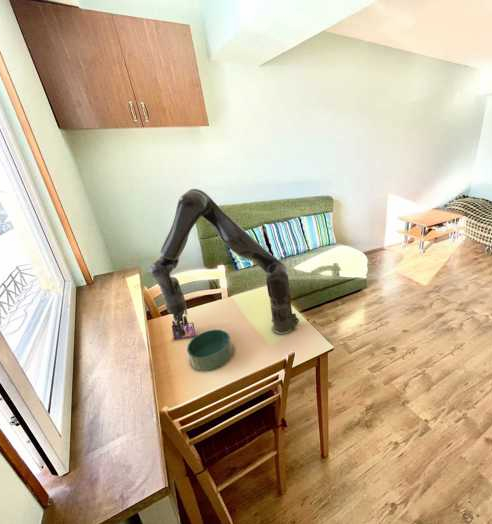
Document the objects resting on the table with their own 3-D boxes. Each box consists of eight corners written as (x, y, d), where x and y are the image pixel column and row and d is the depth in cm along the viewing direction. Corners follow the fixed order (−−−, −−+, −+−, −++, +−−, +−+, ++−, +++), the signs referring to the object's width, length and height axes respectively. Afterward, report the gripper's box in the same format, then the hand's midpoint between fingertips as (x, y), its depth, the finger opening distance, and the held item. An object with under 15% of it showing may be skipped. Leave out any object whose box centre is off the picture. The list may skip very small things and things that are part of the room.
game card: (171, 326, 124) (192, 323, 125) (175, 322, 129) (195, 319, 131) (173, 340, 125) (194, 337, 126) (177, 335, 130) (197, 332, 132)
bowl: (233, 338, 126) (230, 326, 123) (232, 365, 112) (228, 352, 109) (194, 346, 122) (190, 333, 119) (188, 374, 108) (183, 362, 105)
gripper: (181, 308, 114) (190, 339, 122) (187, 290, 127) (195, 319, 134) (160, 311, 112) (172, 342, 120) (168, 292, 125) (178, 322, 132)
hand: (184, 330), depth 127 cm, fingers open, 6 cm apart
